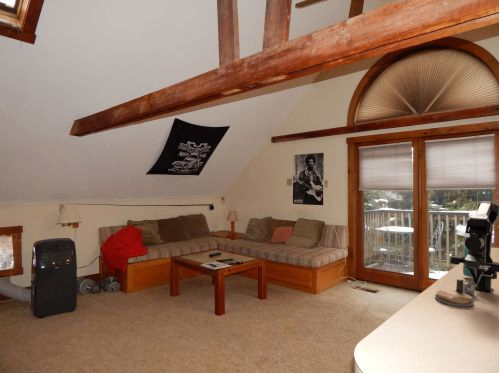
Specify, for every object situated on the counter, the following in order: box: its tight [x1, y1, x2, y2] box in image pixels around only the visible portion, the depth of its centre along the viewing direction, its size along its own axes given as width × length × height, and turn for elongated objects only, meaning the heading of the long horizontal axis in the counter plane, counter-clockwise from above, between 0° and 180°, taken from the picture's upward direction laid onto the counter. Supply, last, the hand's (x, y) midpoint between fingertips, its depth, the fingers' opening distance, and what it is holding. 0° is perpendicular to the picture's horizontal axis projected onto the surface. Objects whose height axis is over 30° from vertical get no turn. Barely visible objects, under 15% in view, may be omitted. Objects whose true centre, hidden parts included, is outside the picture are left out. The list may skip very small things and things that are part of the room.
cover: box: [462, 281, 476, 298], centre depth 151 cm, size 5×5×5 cm
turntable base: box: [434, 293, 475, 309], centre depth 143 cm, size 14×14×1 cm
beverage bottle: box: [462, 245, 473, 278], centre depth 174 cm, size 6×7×20 cm
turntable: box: [436, 278, 474, 304], centre depth 144 cm, size 15×13×6 cm
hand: (476, 283), depth 144 cm, fingers closed
